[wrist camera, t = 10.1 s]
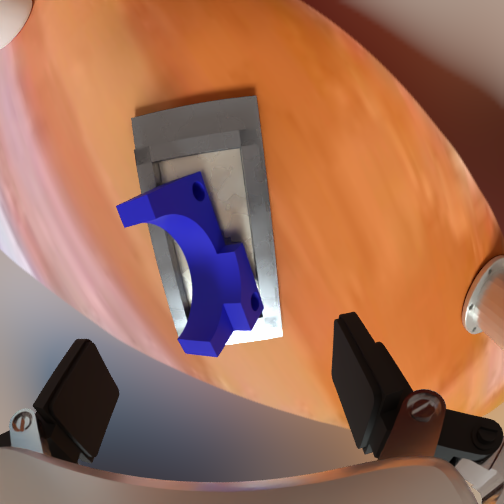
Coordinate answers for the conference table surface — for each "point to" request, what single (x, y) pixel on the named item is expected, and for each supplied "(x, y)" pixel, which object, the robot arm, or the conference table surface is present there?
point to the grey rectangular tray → (213, 195)
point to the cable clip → (201, 262)
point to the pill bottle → (12, 18)
